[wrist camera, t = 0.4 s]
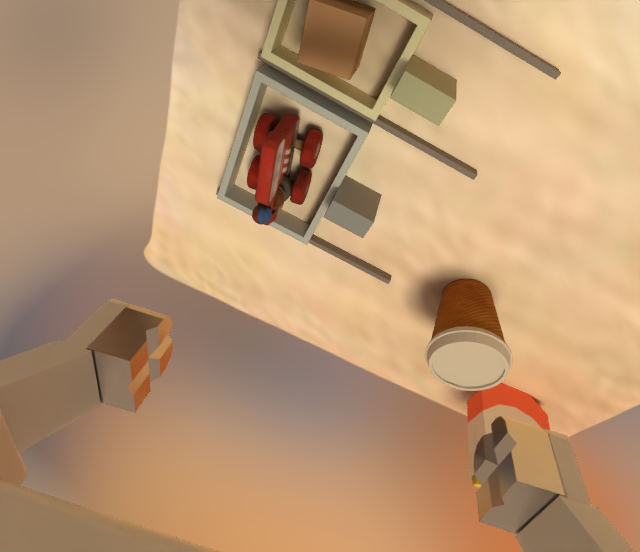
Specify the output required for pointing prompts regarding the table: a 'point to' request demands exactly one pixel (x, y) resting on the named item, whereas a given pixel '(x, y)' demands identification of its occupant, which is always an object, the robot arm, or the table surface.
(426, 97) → the cube lane
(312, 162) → the toy fire truck
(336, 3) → the walnut cube
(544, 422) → the french fries container
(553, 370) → the table surface
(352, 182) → the grey open rectangular tray
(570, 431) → the table surface
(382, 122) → the lane rails
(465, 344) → the disposable coffee cup
